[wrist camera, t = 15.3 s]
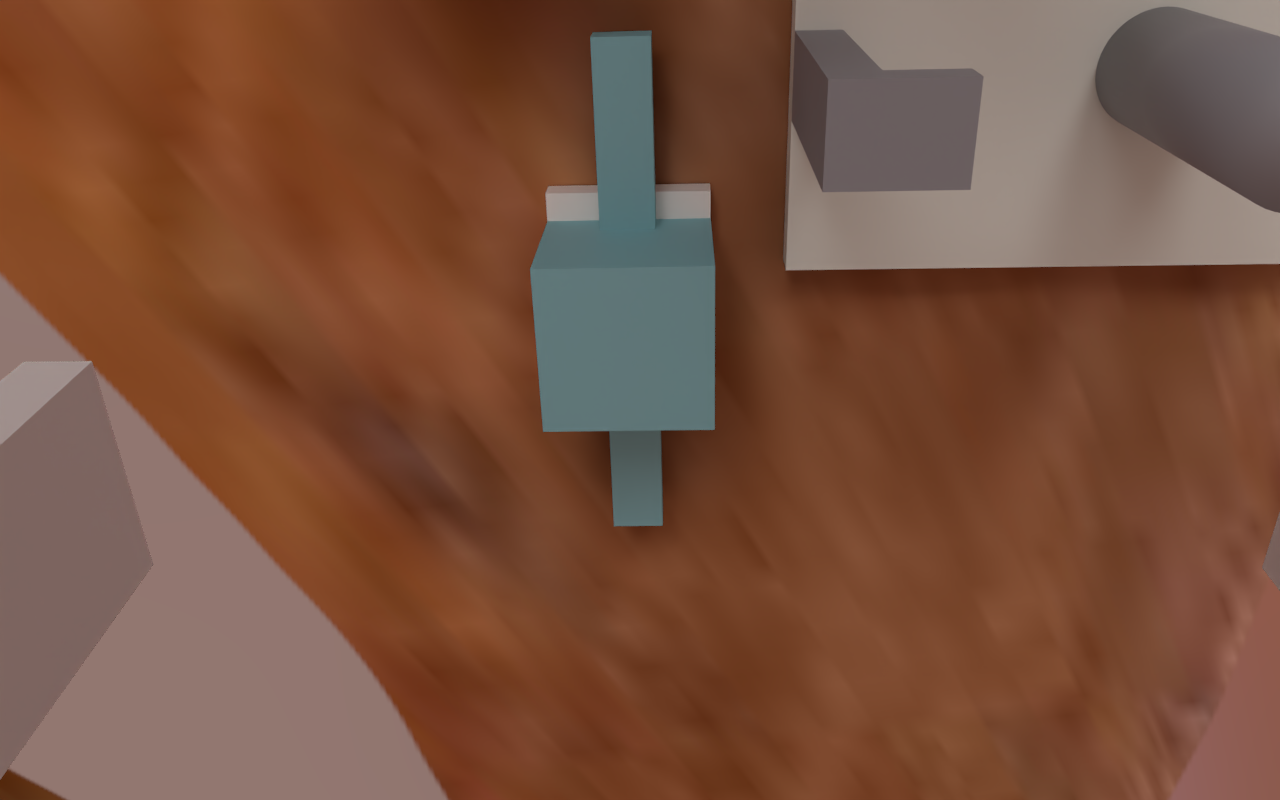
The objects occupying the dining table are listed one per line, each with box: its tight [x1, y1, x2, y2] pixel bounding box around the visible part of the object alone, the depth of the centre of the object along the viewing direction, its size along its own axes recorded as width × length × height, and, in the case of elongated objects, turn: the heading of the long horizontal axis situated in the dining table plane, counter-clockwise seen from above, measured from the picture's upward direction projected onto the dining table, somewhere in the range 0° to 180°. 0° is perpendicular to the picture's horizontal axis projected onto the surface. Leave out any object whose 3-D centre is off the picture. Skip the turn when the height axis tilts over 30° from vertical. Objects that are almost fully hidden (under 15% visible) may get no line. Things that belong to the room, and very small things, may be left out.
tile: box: [545, 183, 711, 222], centre depth 41 cm, size 8×6×1 cm
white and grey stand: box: [783, 0, 1280, 270], centre depth 32 cm, size 14×24×11 cm, turn 91°
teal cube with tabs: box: [530, 31, 715, 526], centre depth 38 cm, size 6×19×5 cm, turn 2°
